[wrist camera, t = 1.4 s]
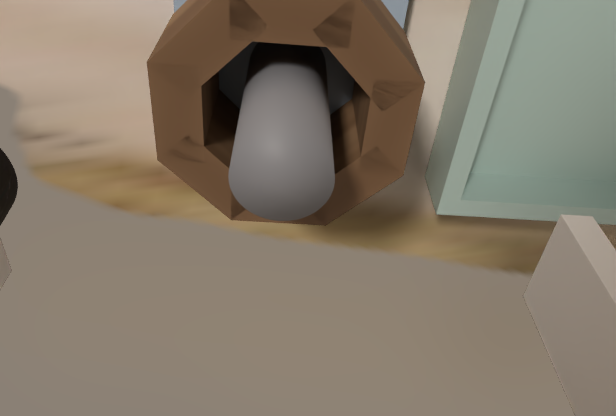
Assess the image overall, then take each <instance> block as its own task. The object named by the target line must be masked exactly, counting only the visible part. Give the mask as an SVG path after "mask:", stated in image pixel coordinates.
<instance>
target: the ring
mask: <svg viewBox="0 0 616 416" xmlns="http://www.w3.org/2000/svg"><path fill="white" fill-rule="evenodd" d="M252 41H254V42H267V43H280V44H293V45H306V46H320V47H327V48H328V49H329V50H330V51H331V53H332V54H333V55H334V56H335V57H336V58H337V60H338V61H339V62H340V63H341V64H342V65H343V67H344V68H345V69H346V70H347V71H348V72H349V74H350V75H351V76H352V77H353V78H354V79H355V82H354V89H353V95H352V99H351V100H350V101H348V102H347V103H345V104H344V105H343V106H341V107H340V108H339V109H337V110H336V111H335V112H333V113H332V114H331V115H330V121H331V134H332V146H333V159H334V171H335V184H334V189H333V192H332V194H331V196H330V198H329V199H328V201H327V202H326V203H325V204H324V205H323V206H322V207H321V208H320V209H319V210H317V211H316V212H314V213H313V214H311V215H309V216H306V217H304V218H301V219H297V220H291V221H275V220H269V219H265V218H262V217H259V216H257V215H255V214H253V213H251V212H249V211H248V210H247V209H245V208H244V207H243V206H242V205H241V204H240V203H239V202H238V201H237V200H236V198H235V197H234V195H233V193H232V191H231V189H230V185H229V178H228V175H229V167H230V162H231V157H232V151H233V146H234V141H235V135H236V130H237V125H238V119H239V114H240V109H239V108H238V107H237V106H236V105H235V104H234V103H233V102H232V101H231V100H230V99H229V98H228V97H227V96H226V95H225V94H224V93H223V92H222V91H220V90H219V70H220V69H221V68H223V67H224V66H225V65H226V64H227V63H228V62H229V61H231V60H232V59H233V58H234V57H235V56H236V55H237V54H239V53H240V52H241V51H242V50H243V49H244V48H245V47H247V46H248V45H249V44H250V43H251V42H252ZM147 68H148V77H149V86H150V95H151V104H152V114H153V123H154V132H155V141H156V150H157V159H158V161H159V162H161V163H162V164H163V165H164V166H166V167H167V168H168V169H169V170H171V171H172V172H173V173H174V174H175V175H177V176H178V177H179V178H180V179H182V180H183V181H184V182H185V183H187V184H188V185H189V186H190V187H191V188H193V189H194V190H195V191H196V192H198V193H199V194H200V195H201V196H202V197H204V198H205V199H206V200H207V201H209V202H210V203H211V204H212V205H214V206H215V207H216V208H217V209H218V210H220V211H221V212H222V213H223V214H225V215H226V216H227V217H228V218H229V219H231V220H240V221H257V222H275V223H292V224H310V225H327V224H328V223H330V222H331V221H333V220H335V219H336V218H338V217H339V216H341V215H342V214H344V213H346V212H347V211H349V210H350V209H352V208H353V207H355V206H356V205H358V204H360V203H361V202H363V201H364V200H366V199H367V198H369V197H370V196H372V195H374V194H375V193H377V192H378V191H380V190H381V189H383V188H384V187H386V186H388V185H389V184H391V183H392V182H394V181H395V180H397V179H399V178H400V177H402V176H403V175H404V170H405V166H406V162H407V157H408V153H409V149H410V145H411V140H412V136H413V132H414V127H415V123H416V119H417V115H418V110H419V106H420V102H421V97H422V93H423V89H424V84H425V81H424V79H423V76H422V74H421V71H420V69H419V66H418V64H417V61H416V59H415V56H414V54H413V51H412V49H411V46H410V44H409V41H408V39H407V36H406V34H405V32H404V30H403V29H402V28H401V26H400V25H399V24H398V22H397V21H396V20H395V18H394V17H393V16H392V14H391V13H390V12H389V10H388V9H387V8H386V6H385V5H384V4H383V2H382V1H381V0H187V1H186V2H185V3H184V4H183V5H182V6H181V7H180V8H179V9H178V10H177V11H176V12H175V13H174V14H173V15H172V17H171V19H170V21H169V22H168V24H167V26H166V28H165V30H164V32H163V34H162V35H161V37H160V39H159V41H158V43H157V45H156V46H155V48H154V50H153V52H152V54H151V56H150V57H149V59H148V61H147Z"/></svg>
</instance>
